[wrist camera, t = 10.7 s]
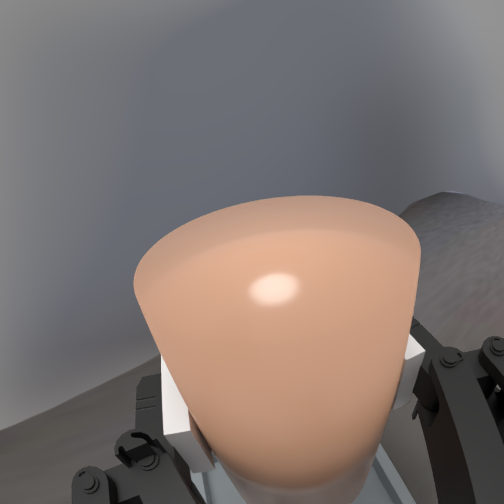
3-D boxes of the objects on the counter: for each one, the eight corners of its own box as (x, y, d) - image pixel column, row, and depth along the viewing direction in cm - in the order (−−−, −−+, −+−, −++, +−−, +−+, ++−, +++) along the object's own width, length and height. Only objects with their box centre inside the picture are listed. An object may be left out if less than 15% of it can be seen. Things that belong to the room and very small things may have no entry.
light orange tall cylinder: (252, 540, 9) (116, 383, 4) (225, 436, 15) (145, 227, 10) (388, 493, 10) (483, 268, 5) (337, 402, 16) (336, 184, 10)
